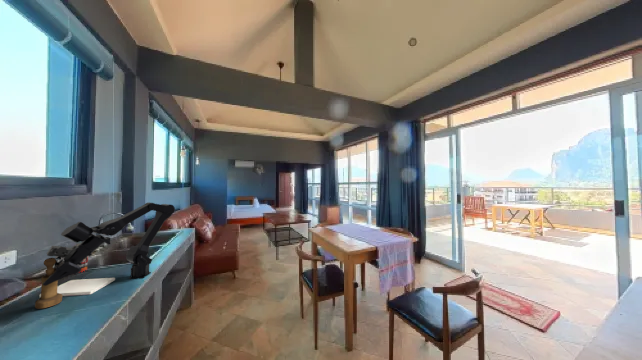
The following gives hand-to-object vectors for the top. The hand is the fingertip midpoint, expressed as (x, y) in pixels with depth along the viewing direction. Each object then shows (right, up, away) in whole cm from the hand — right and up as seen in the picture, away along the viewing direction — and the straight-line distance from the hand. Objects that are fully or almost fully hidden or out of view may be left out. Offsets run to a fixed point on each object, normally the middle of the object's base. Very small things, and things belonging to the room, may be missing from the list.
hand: (43, 283), depth 80 cm
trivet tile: (-2, -9, +14) cm, 17 cm away
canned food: (-23, -9, +30) cm, 39 cm away
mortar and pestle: (+1, -9, +1) cm, 9 cm away
